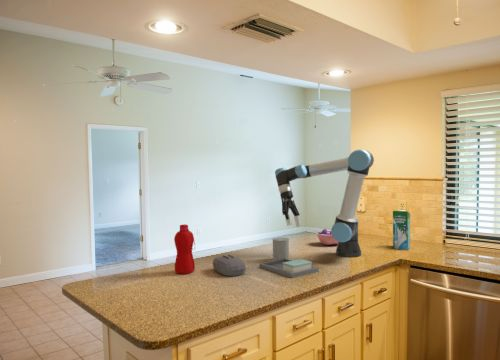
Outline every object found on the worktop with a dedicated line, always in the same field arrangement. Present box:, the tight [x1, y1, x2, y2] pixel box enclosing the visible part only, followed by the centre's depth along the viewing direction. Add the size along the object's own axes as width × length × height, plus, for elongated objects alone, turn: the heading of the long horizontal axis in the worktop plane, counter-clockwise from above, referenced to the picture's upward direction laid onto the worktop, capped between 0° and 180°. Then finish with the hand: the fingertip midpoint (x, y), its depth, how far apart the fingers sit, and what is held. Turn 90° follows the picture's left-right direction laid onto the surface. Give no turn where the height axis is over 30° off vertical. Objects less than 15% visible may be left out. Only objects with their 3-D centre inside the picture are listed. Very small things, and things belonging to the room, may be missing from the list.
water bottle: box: [173, 224, 196, 275], centre depth 198 cm, size 9×11×25 cm
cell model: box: [315, 228, 338, 246], centre depth 264 cm, size 17×20×11 cm
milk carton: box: [392, 209, 411, 251], centre depth 249 cm, size 9×9×25 cm
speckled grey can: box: [272, 237, 290, 261], centre depth 222 cm, size 10×10×12 cm
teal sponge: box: [282, 258, 313, 273], centre depth 191 cm, size 8×12×5 cm
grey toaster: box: [212, 254, 246, 277], centre depth 198 cm, size 15×8×20 cm
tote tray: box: [258, 258, 319, 279], centre depth 197 cm, size 26×18×3 cm
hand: (294, 225), depth 228 cm, fingers open, 13 cm apart
